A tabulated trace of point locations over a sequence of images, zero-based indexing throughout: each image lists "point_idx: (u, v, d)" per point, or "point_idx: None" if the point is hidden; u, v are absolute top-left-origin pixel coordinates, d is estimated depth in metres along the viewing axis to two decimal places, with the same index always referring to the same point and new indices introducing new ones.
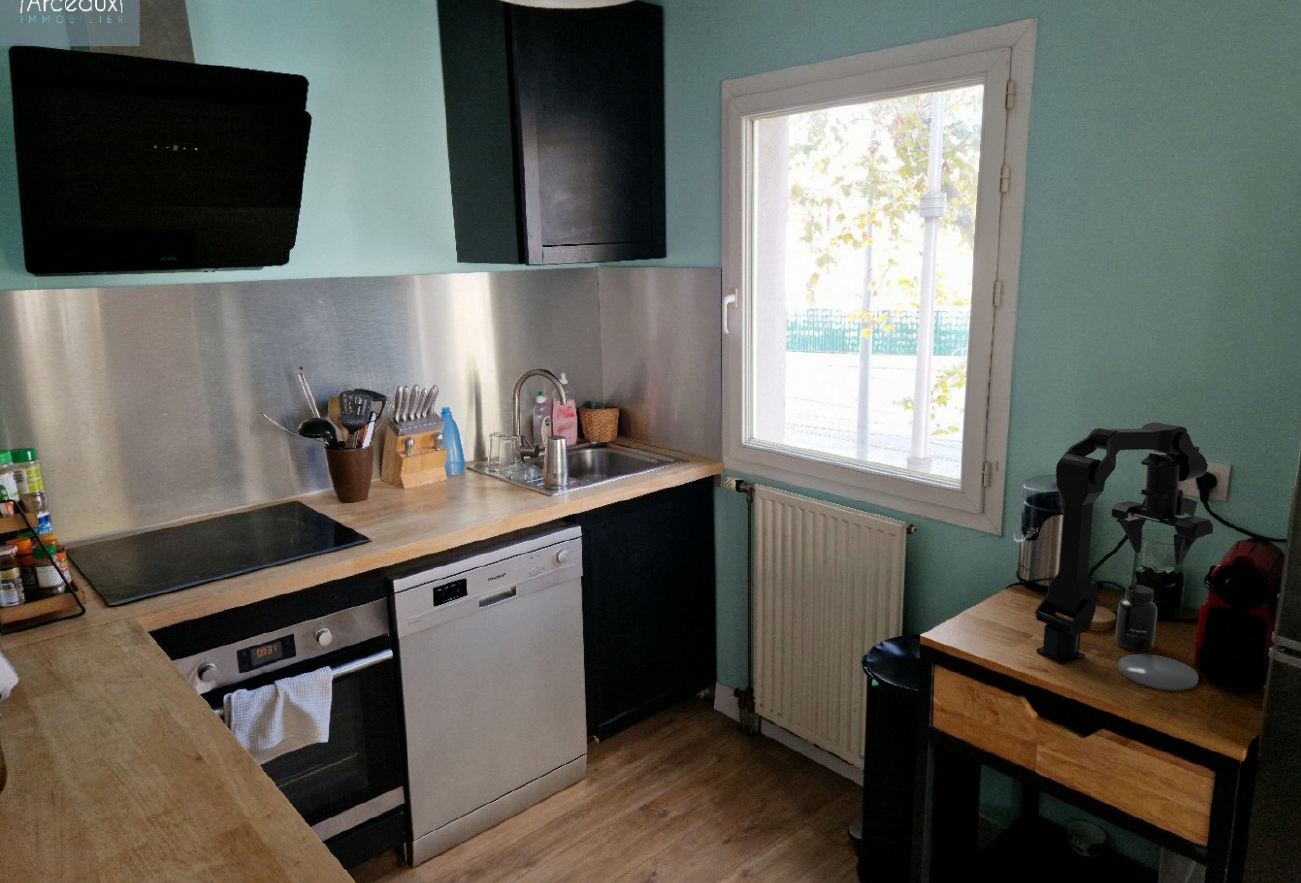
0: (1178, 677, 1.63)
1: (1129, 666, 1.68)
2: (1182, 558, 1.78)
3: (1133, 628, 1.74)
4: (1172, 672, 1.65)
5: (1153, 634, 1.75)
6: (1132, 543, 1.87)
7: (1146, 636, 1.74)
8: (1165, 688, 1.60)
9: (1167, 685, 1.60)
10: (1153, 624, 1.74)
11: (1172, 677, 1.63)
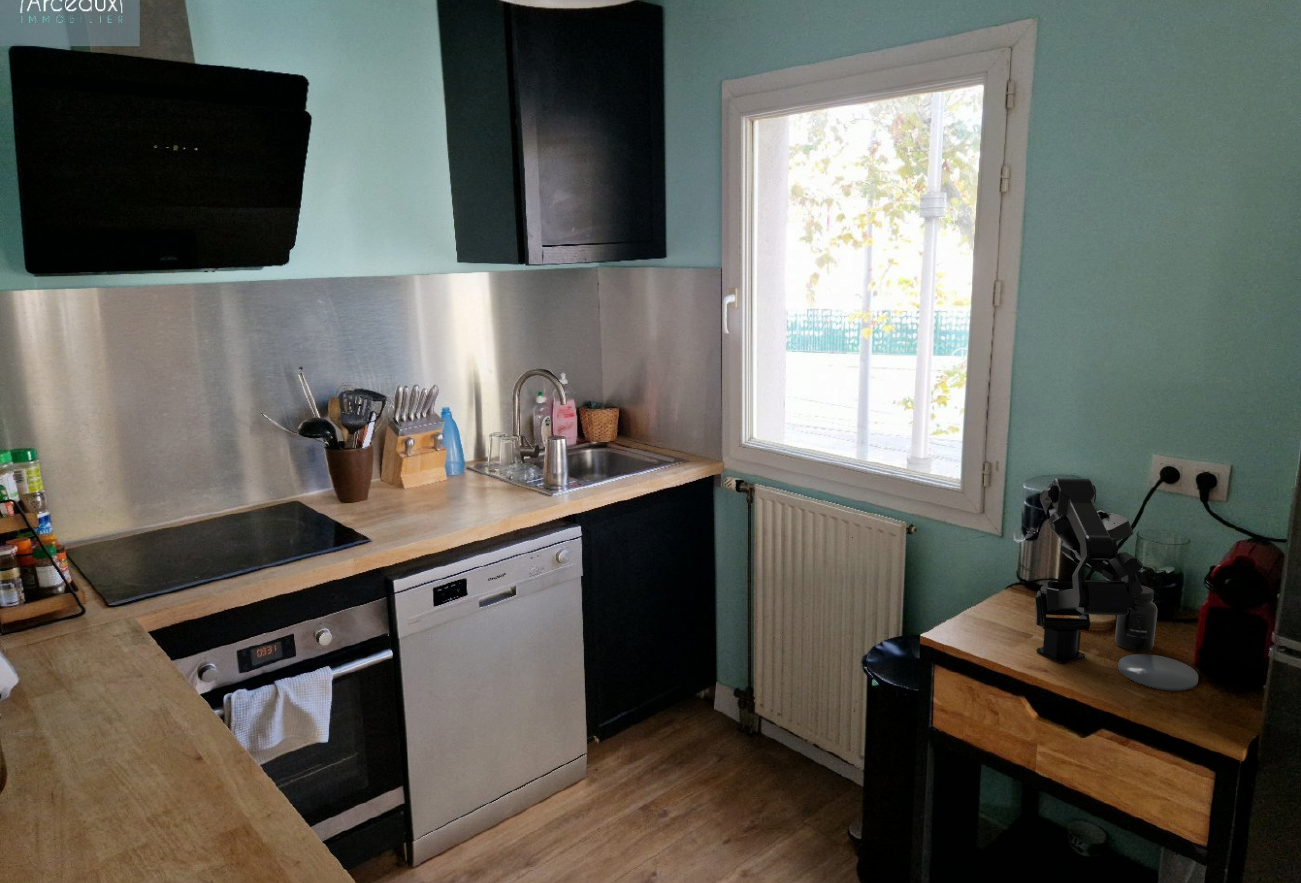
0: (1178, 677, 1.63)
1: (1129, 666, 1.68)
2: (1137, 588, 1.70)
3: (1133, 628, 1.74)
4: (1172, 672, 1.65)
5: (1153, 634, 1.75)
6: (1099, 572, 1.80)
7: (1146, 636, 1.74)
8: (1165, 688, 1.60)
9: (1167, 685, 1.60)
10: (1153, 624, 1.74)
11: (1172, 677, 1.63)
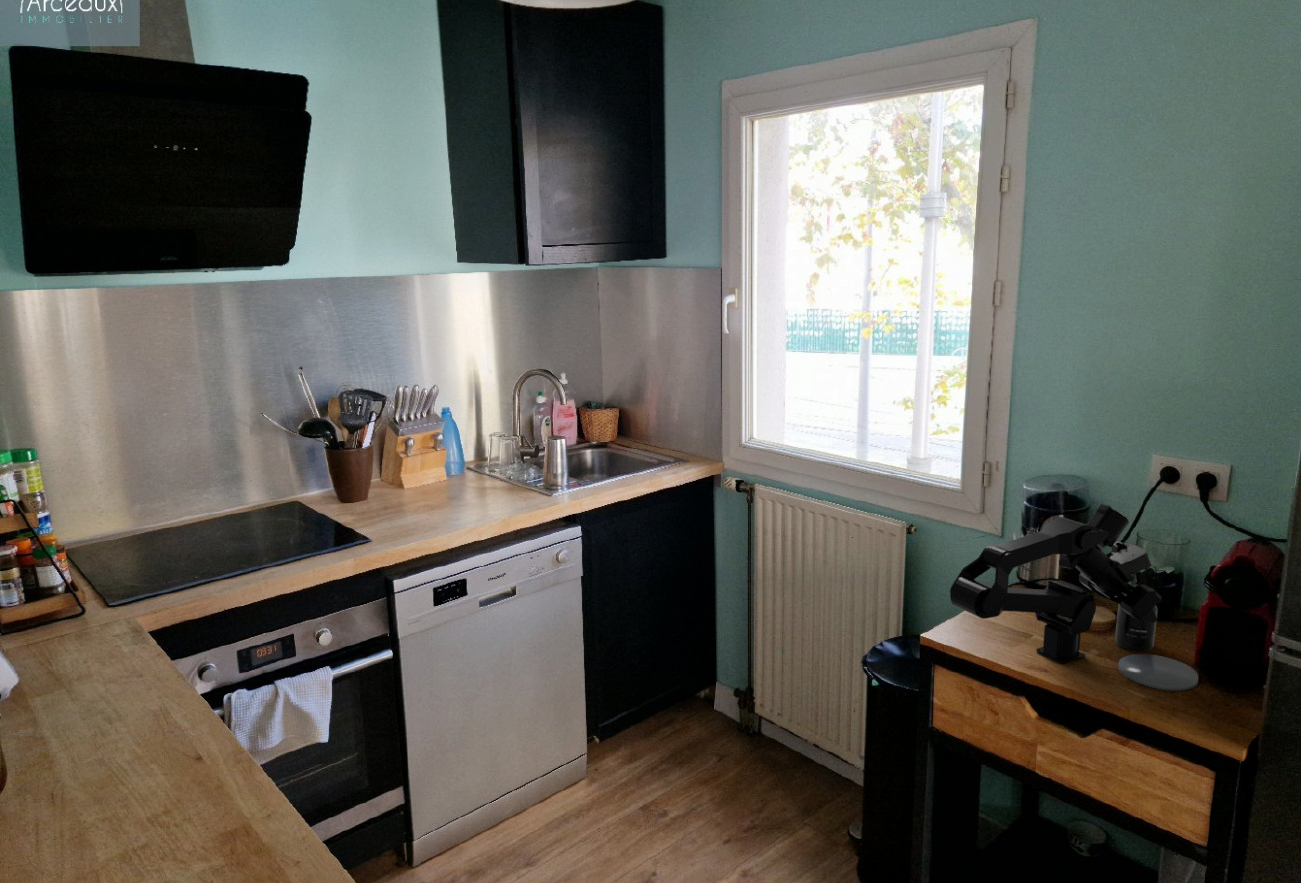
0: (1178, 677, 1.63)
1: (1129, 666, 1.68)
2: (1152, 617, 1.72)
3: (1133, 628, 1.74)
4: (1172, 672, 1.65)
5: (1153, 634, 1.75)
6: None
7: (1146, 636, 1.74)
8: (1165, 688, 1.60)
9: (1167, 685, 1.60)
10: (1153, 624, 1.74)
11: (1172, 677, 1.63)
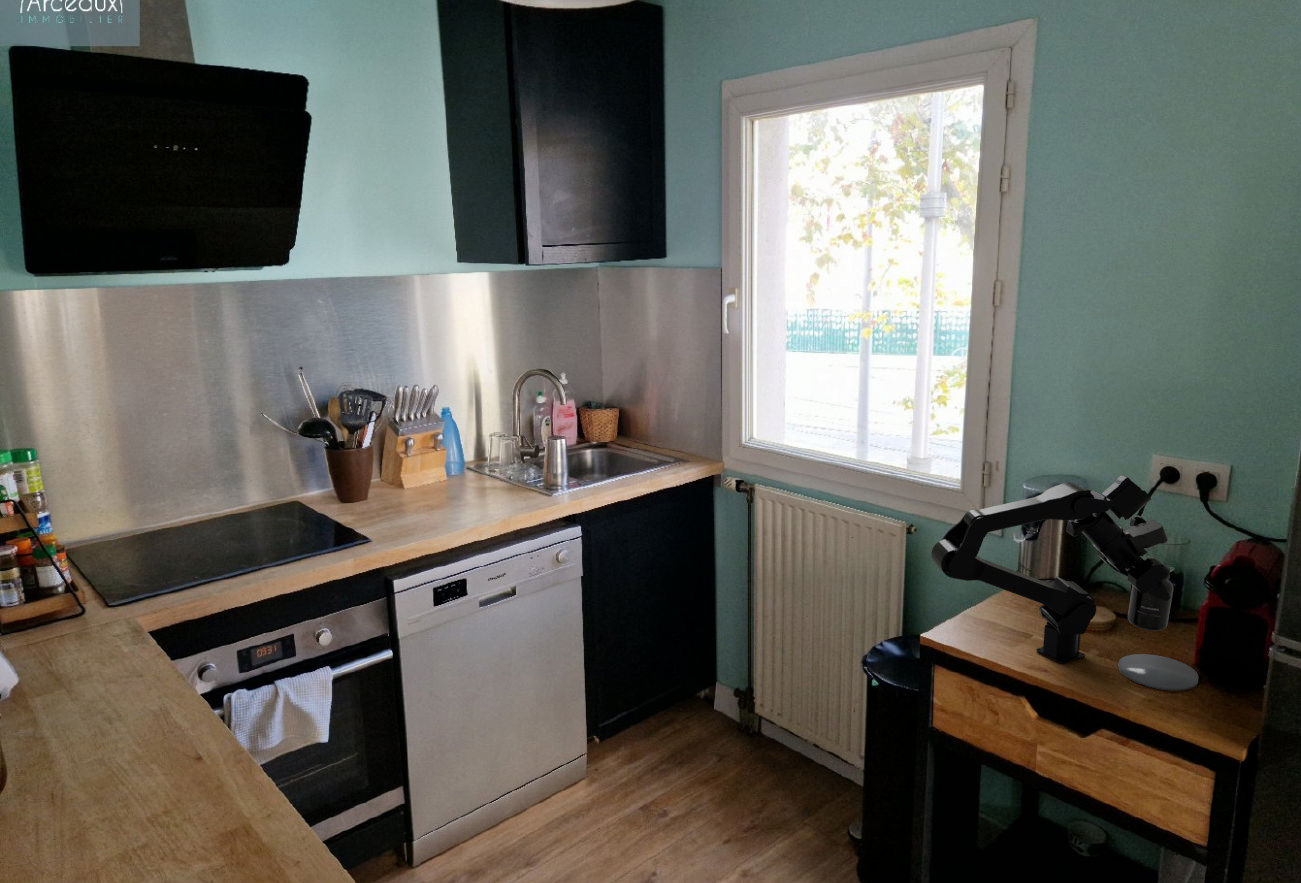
0: (1178, 677, 1.63)
1: (1129, 666, 1.68)
2: (1164, 594, 1.67)
3: (1144, 605, 1.69)
4: (1172, 672, 1.65)
5: (1166, 613, 1.69)
6: None
7: (1157, 614, 1.69)
8: (1165, 688, 1.60)
9: (1167, 685, 1.60)
10: (1166, 603, 1.68)
11: (1172, 677, 1.63)
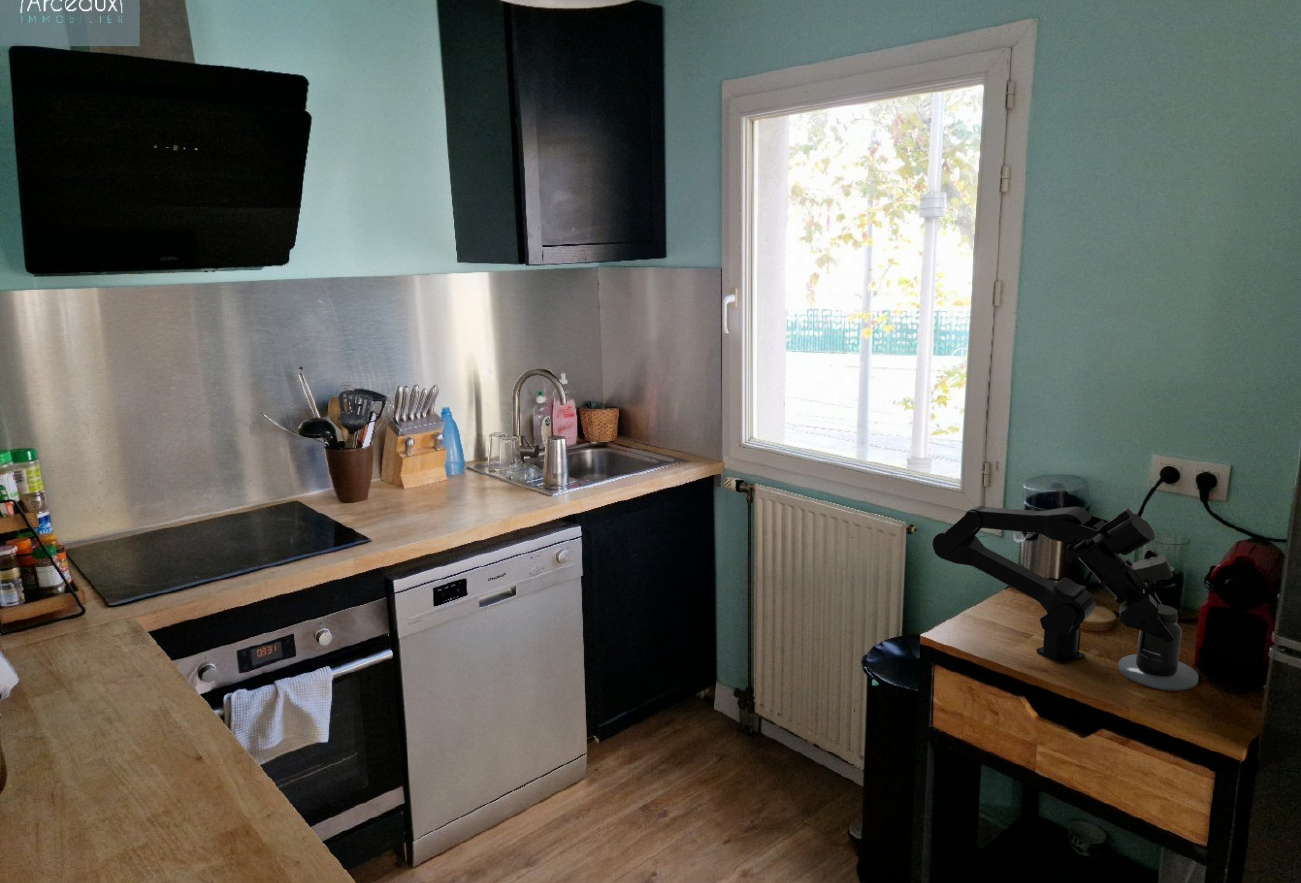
0: (1178, 677, 1.63)
1: (1129, 666, 1.68)
2: (1165, 635, 1.60)
3: (1146, 648, 1.64)
4: None
5: (1171, 660, 1.63)
6: None
7: (1159, 659, 1.63)
8: (1165, 688, 1.60)
9: (1167, 685, 1.60)
10: (1169, 648, 1.62)
11: (1172, 677, 1.63)
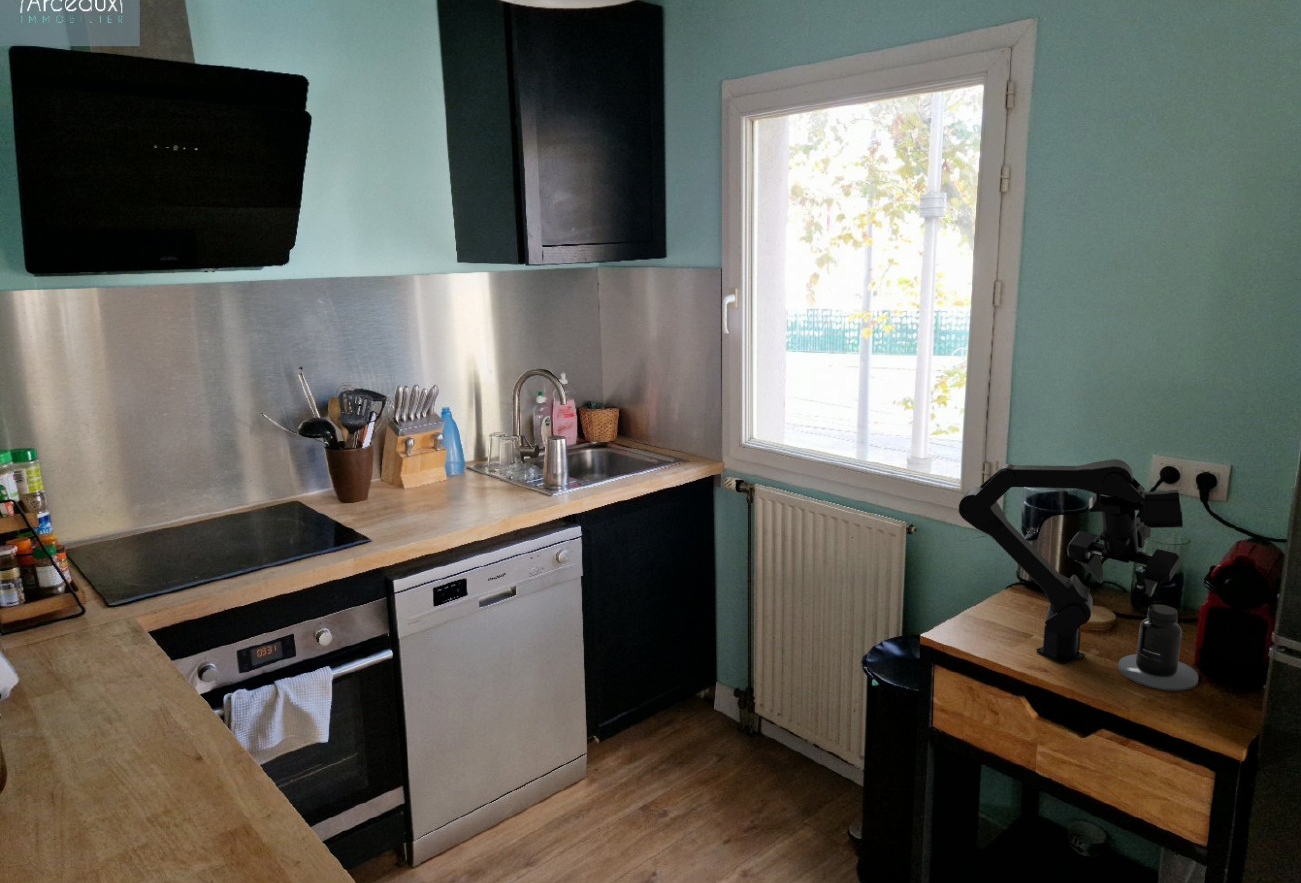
0: (1178, 677, 1.63)
1: (1129, 666, 1.68)
2: (1153, 590, 1.69)
3: (1146, 648, 1.64)
4: None
5: (1171, 660, 1.63)
6: (1095, 577, 1.76)
7: (1159, 659, 1.63)
8: (1165, 688, 1.60)
9: (1167, 685, 1.60)
10: (1169, 648, 1.62)
11: (1172, 677, 1.63)
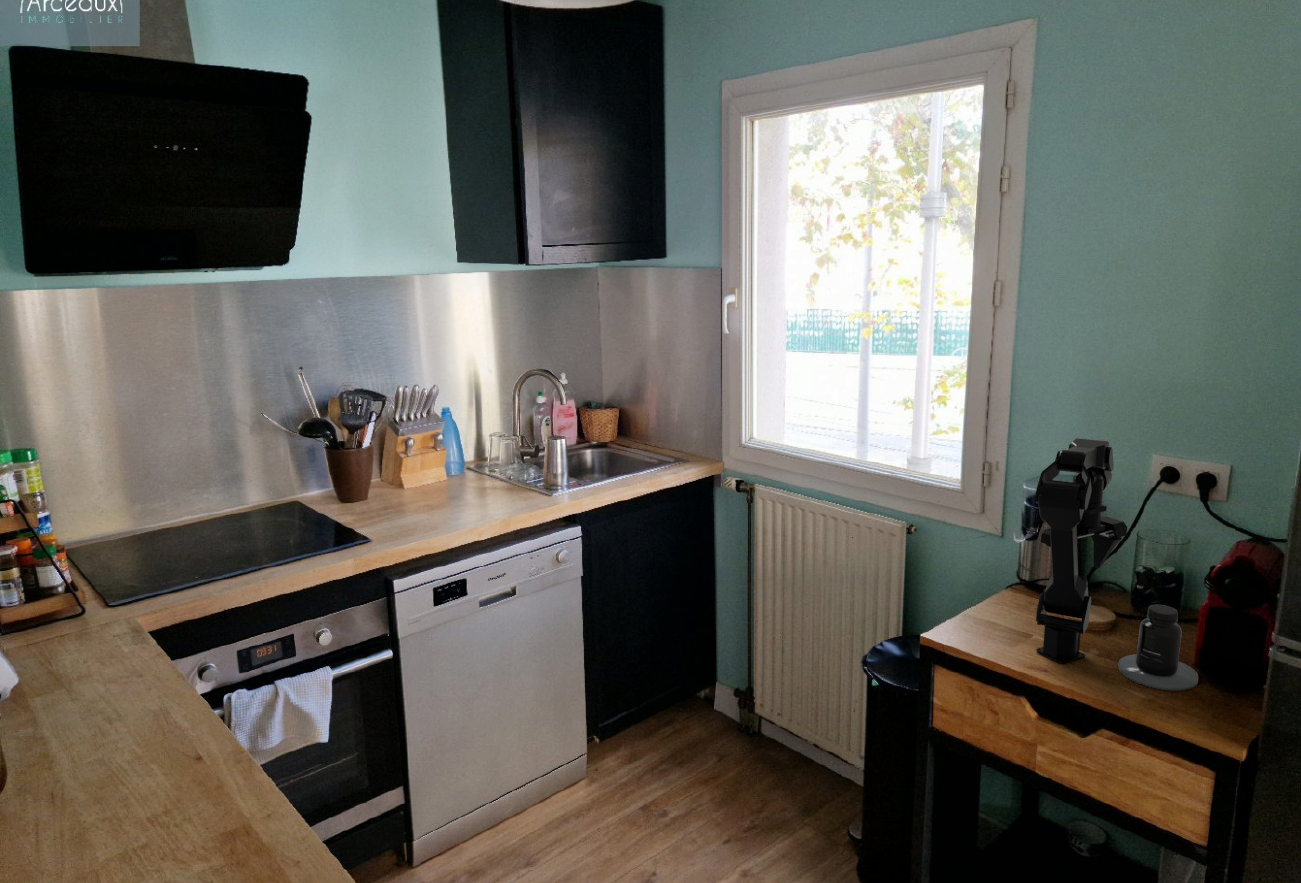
0: (1178, 677, 1.63)
1: (1129, 666, 1.68)
2: None
3: (1146, 648, 1.64)
4: None
5: (1171, 660, 1.63)
6: None
7: (1159, 659, 1.63)
8: (1165, 688, 1.60)
9: (1167, 685, 1.60)
10: (1169, 648, 1.62)
11: (1172, 677, 1.63)
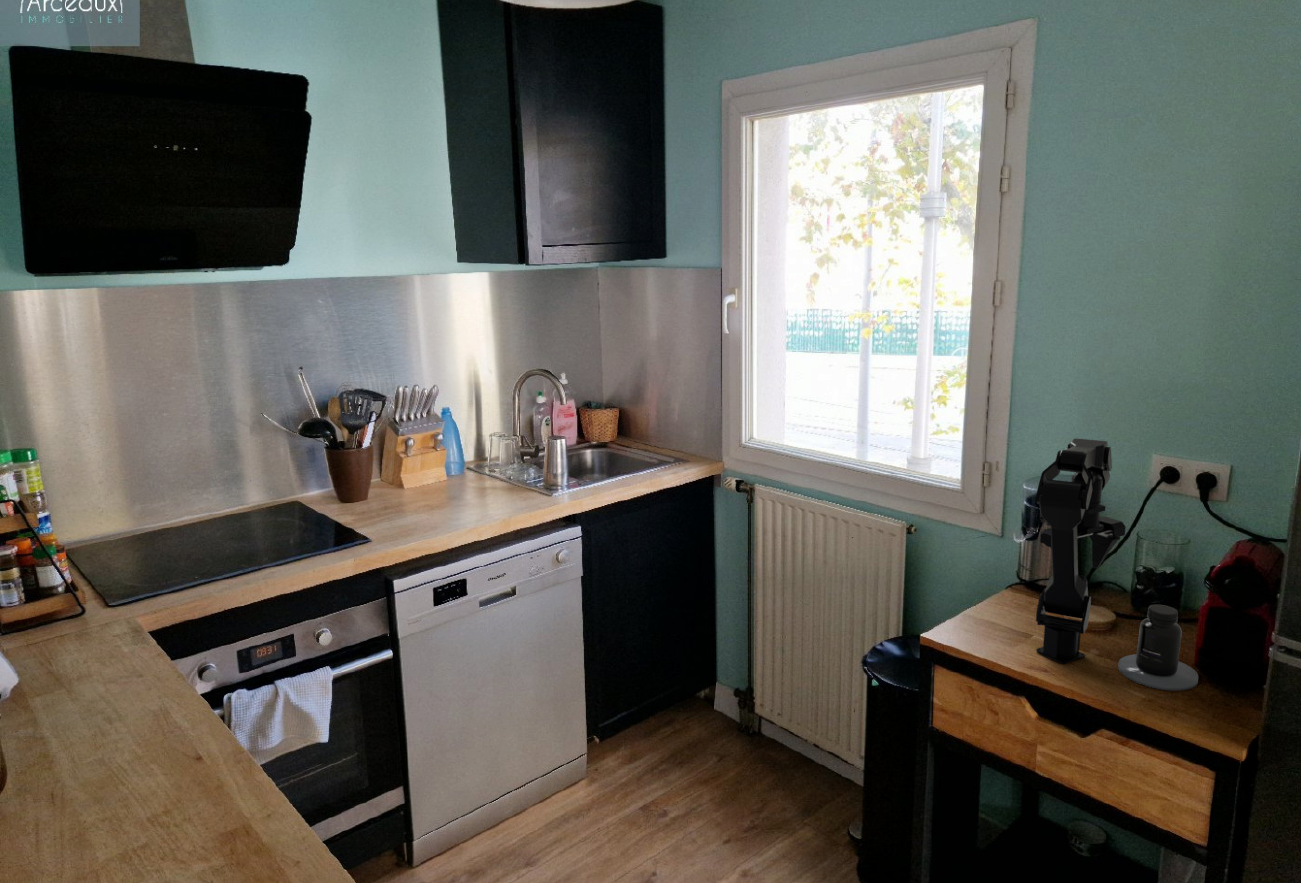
0: (1178, 677, 1.63)
1: (1129, 666, 1.68)
2: None
3: (1146, 648, 1.64)
4: None
5: (1171, 660, 1.63)
6: None
7: (1159, 659, 1.63)
8: (1165, 688, 1.60)
9: (1167, 685, 1.60)
10: (1169, 648, 1.62)
11: (1172, 677, 1.63)
